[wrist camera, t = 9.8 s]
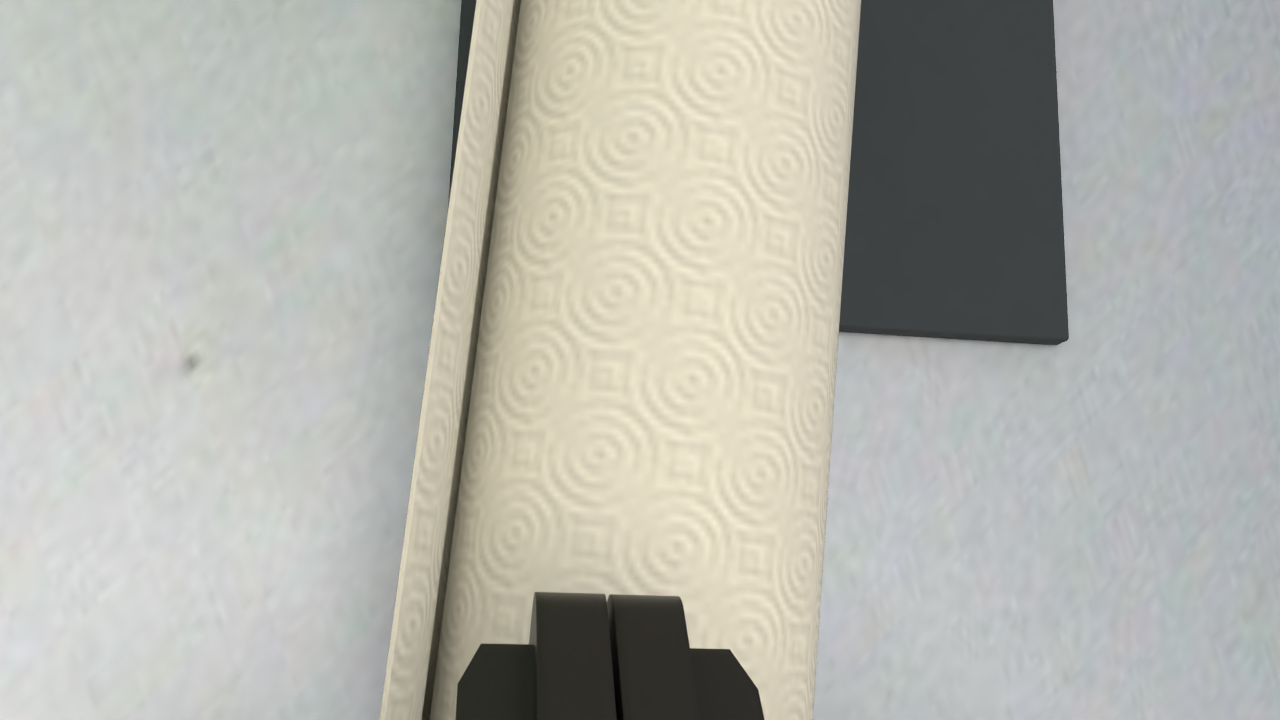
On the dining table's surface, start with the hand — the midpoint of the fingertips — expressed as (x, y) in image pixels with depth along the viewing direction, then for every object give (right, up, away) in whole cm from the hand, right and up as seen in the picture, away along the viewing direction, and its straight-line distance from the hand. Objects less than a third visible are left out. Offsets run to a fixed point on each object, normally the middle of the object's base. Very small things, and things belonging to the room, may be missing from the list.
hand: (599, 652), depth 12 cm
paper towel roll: (-1, -6, +6) cm, 8 cm away
